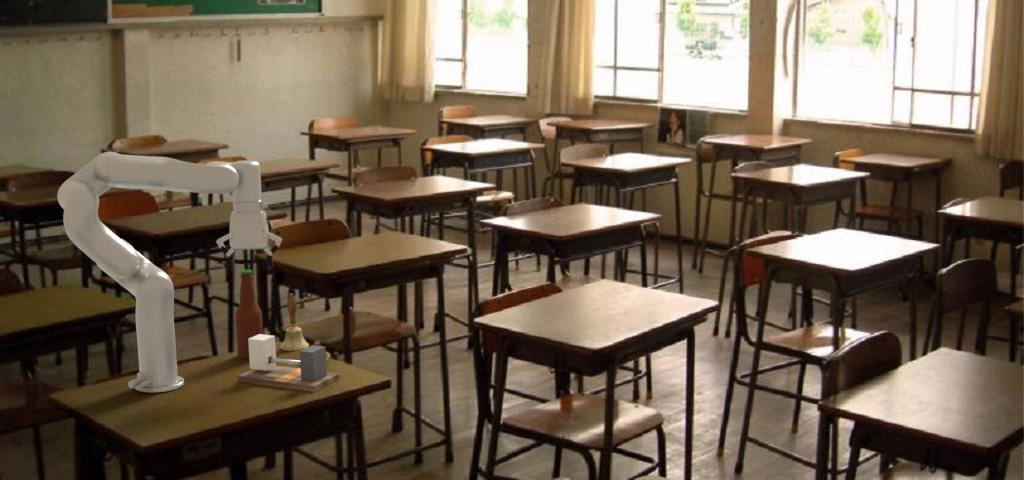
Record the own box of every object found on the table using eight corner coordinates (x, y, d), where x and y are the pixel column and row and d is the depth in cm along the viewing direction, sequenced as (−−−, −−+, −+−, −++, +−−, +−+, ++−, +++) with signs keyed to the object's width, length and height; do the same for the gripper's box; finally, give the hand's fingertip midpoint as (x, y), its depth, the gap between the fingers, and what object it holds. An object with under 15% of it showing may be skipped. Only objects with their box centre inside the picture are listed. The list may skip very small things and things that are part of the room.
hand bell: (285, 352, 358) (282, 298, 355) (276, 345, 365) (273, 292, 362) (312, 348, 362) (310, 294, 359) (303, 341, 369) (301, 289, 366)
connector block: (314, 382, 325) (312, 352, 323) (301, 380, 326) (299, 350, 325) (326, 375, 330) (325, 346, 329) (313, 374, 332) (312, 345, 330)
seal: (325, 372, 343) (333, 356, 358) (327, 355, 342) (334, 340, 357) (291, 368, 343) (301, 352, 358) (293, 352, 342) (302, 337, 357)
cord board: (314, 392, 321) (314, 385, 321) (237, 381, 331) (237, 375, 331) (339, 378, 332) (339, 372, 332) (264, 369, 342) (264, 363, 342)
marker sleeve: (265, 370, 331) (263, 340, 330) (249, 368, 333) (248, 338, 332) (276, 365, 336) (274, 335, 334) (261, 363, 338) (259, 334, 336)
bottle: (267, 353, 358) (262, 267, 353) (259, 360, 350) (254, 273, 346) (242, 352, 358) (238, 267, 354) (234, 359, 351) (229, 273, 347)
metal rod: (305, 367, 328) (305, 362, 328) (253, 361, 335) (253, 356, 334) (308, 366, 329) (308, 361, 329) (256, 359, 336) (256, 354, 336)
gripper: (281, 204, 337) (284, 266, 340) (217, 205, 336) (220, 267, 339) (278, 208, 330) (281, 272, 333) (212, 210, 328) (215, 273, 331)
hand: (250, 269), depth 336 cm, fingers open, 9 cm apart
